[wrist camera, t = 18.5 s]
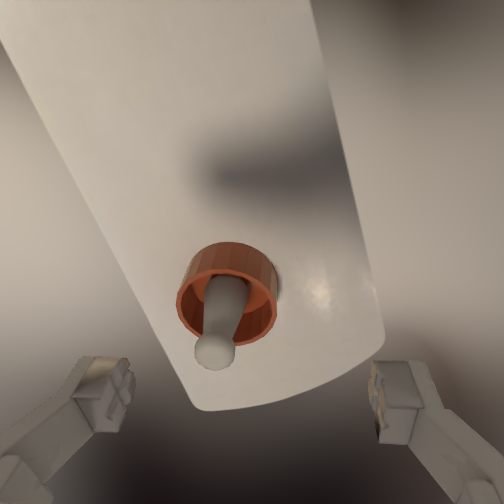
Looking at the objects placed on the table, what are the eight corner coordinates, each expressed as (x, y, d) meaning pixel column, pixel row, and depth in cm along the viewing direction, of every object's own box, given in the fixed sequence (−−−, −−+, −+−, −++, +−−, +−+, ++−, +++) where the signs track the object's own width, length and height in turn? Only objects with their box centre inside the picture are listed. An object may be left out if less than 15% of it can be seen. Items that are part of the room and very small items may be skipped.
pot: (275, 240, 43) (274, 268, 38) (278, 314, 50) (278, 346, 44) (179, 243, 44) (166, 270, 39) (195, 314, 51) (186, 346, 46)
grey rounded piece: (208, 263, 45) (184, 337, 34) (252, 267, 45) (242, 343, 34) (207, 297, 48) (185, 375, 37) (248, 302, 48) (239, 381, 37)
